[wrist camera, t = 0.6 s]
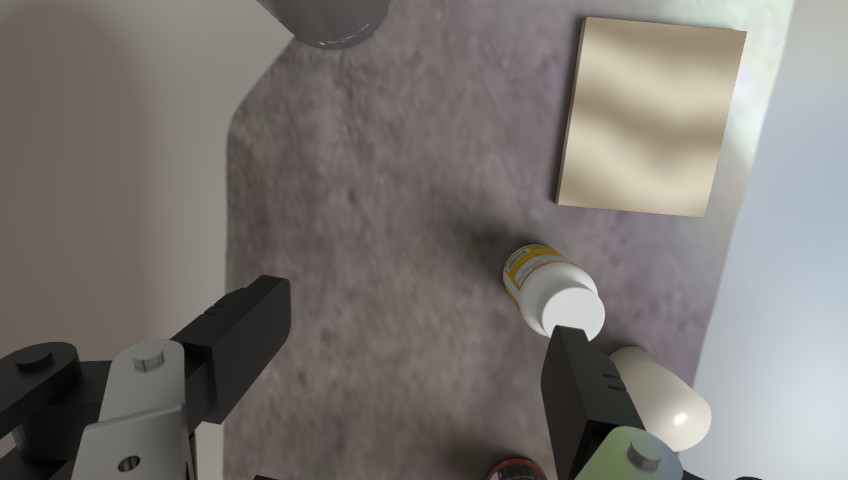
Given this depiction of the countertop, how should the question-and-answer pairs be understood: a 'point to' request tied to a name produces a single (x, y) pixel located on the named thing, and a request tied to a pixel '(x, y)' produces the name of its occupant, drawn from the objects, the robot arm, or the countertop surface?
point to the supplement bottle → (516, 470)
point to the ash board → (647, 116)
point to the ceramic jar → (662, 399)
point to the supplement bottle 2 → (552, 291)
